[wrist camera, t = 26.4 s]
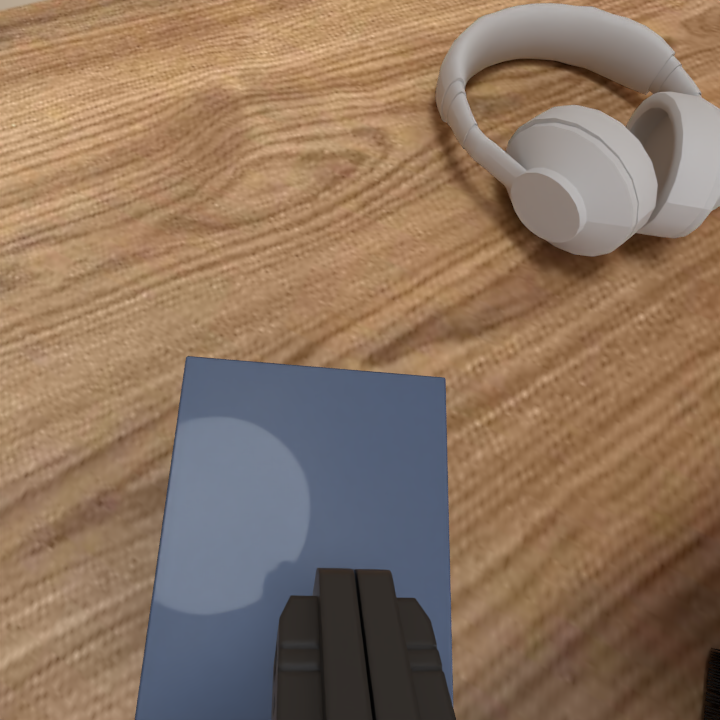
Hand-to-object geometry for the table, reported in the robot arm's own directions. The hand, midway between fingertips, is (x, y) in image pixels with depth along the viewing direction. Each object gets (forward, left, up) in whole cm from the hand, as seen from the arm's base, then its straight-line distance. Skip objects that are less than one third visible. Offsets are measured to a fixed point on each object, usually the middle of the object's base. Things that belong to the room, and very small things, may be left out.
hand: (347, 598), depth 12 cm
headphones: (+29, -17, -18) cm, 38 cm away
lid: (+1, 0, -10) cm, 10 cm away
